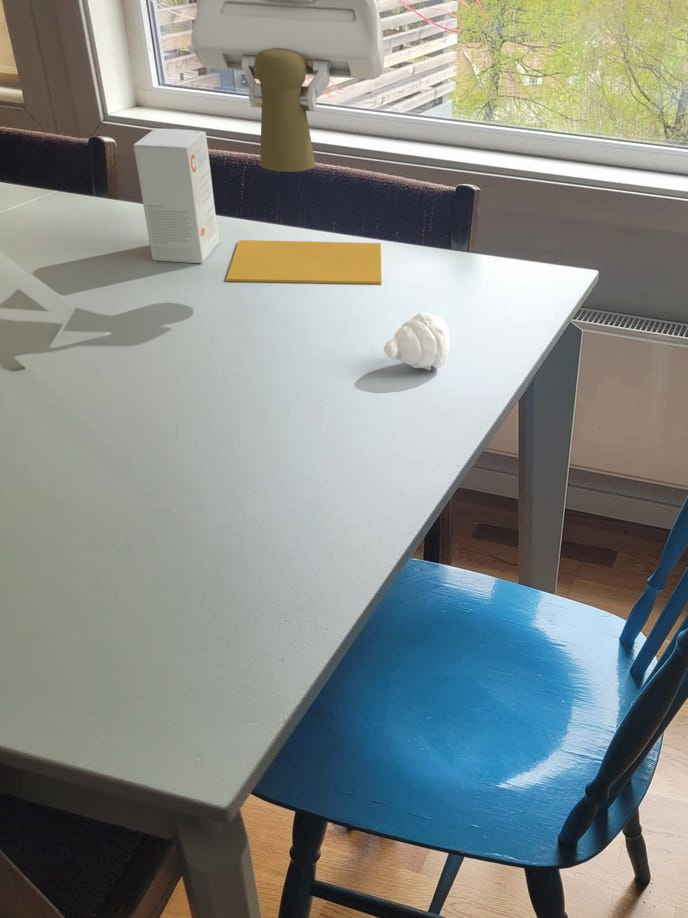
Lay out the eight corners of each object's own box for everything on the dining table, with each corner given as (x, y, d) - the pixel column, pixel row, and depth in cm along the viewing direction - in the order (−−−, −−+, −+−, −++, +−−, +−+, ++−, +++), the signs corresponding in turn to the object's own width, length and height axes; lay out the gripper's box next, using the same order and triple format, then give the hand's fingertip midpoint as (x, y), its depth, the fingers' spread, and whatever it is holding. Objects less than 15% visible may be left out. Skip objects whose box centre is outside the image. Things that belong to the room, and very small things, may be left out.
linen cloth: (226, 281, 116) (226, 278, 116) (238, 242, 127) (238, 239, 126) (381, 284, 117) (381, 281, 117) (380, 245, 128) (380, 243, 128)
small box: (170, 239, 126) (154, 126, 118) (220, 243, 126) (207, 130, 118) (150, 260, 120) (131, 143, 112) (202, 264, 120) (187, 147, 111)
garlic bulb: (373, 366, 100) (372, 312, 96) (424, 354, 102) (425, 302, 99) (400, 387, 96) (400, 332, 93) (452, 374, 99) (454, 321, 96)
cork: (249, 161, 109) (238, 46, 102) (296, 154, 113) (289, 42, 106) (278, 174, 106) (268, 56, 99) (326, 166, 109) (320, 52, 102)
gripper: (191, -45, 104) (175, 79, 102) (385, -33, 103) (372, 92, 102) (208, 0, 110) (194, 118, 108) (392, 12, 109) (380, 130, 108)
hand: (282, 106), depth 105 cm, fingers closed on cork, 4 cm apart
